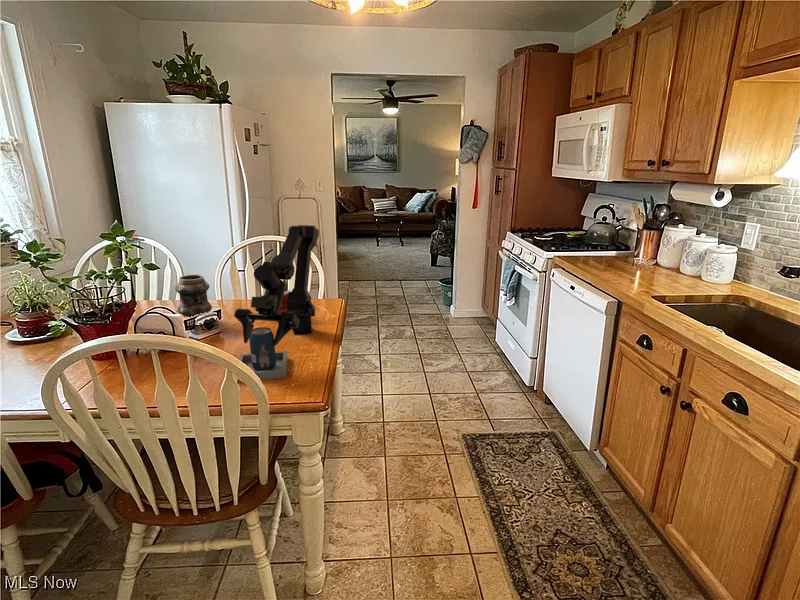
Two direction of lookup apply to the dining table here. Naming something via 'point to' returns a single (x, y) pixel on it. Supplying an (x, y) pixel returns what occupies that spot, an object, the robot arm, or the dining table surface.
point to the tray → (275, 373)
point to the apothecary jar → (193, 295)
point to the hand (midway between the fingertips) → (259, 344)
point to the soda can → (262, 349)
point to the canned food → (284, 302)
